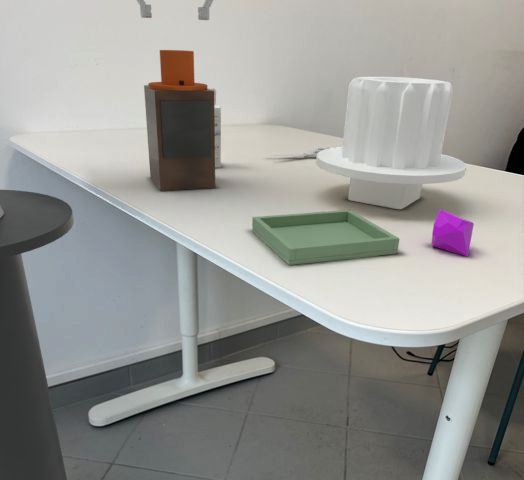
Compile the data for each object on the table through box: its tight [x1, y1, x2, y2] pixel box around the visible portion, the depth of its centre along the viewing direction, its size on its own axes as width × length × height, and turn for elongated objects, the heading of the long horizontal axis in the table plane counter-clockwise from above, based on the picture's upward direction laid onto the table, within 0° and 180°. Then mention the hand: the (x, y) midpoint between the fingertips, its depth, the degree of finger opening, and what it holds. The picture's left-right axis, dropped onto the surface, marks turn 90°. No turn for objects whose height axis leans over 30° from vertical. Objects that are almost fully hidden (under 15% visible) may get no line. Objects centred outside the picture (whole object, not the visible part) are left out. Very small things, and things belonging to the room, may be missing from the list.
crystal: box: [431, 208, 474, 257], centre depth 72 cm, size 5×5×5 cm
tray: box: [251, 209, 400, 266], centre depth 73 cm, size 16×14×2 cm
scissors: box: [272, 146, 331, 160], centre depth 125 cm, size 11×1×20 cm
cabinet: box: [143, 84, 216, 192], centre depth 96 cm, size 10×10×16 cm
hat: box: [147, 49, 208, 91], centre depth 91 cm, size 10×10×6 cm
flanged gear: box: [315, 75, 467, 210], centre depth 90 cm, size 25×25×19 cm
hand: (175, 19), depth 87 cm, fingers open, 8 cm apart
